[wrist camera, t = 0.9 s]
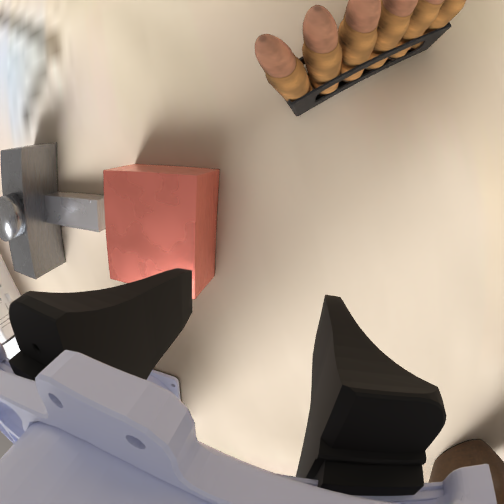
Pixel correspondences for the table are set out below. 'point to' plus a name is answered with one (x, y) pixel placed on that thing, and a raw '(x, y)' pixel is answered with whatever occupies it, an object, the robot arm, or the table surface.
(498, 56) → the table surface
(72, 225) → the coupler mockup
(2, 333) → the laminator
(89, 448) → the robot arm
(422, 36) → the ammunition clip
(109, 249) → the red block
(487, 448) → the plant pot
